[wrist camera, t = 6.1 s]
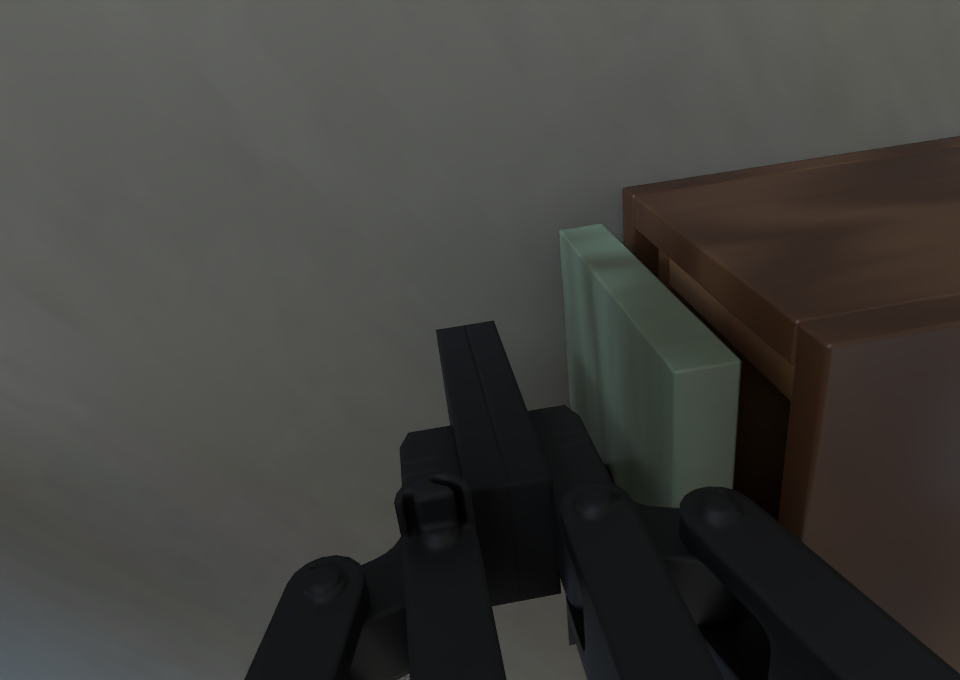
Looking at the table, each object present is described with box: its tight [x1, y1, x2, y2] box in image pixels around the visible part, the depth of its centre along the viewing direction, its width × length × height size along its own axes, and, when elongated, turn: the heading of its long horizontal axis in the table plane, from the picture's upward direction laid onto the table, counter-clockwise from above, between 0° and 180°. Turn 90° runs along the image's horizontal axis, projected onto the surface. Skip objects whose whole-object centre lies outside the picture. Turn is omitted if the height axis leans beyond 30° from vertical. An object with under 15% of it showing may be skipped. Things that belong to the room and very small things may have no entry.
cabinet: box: [623, 136, 960, 673], centre depth 19 cm, size 15×13×10 cm
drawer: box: [559, 224, 795, 521], centre depth 18 cm, size 15×12×8 cm
